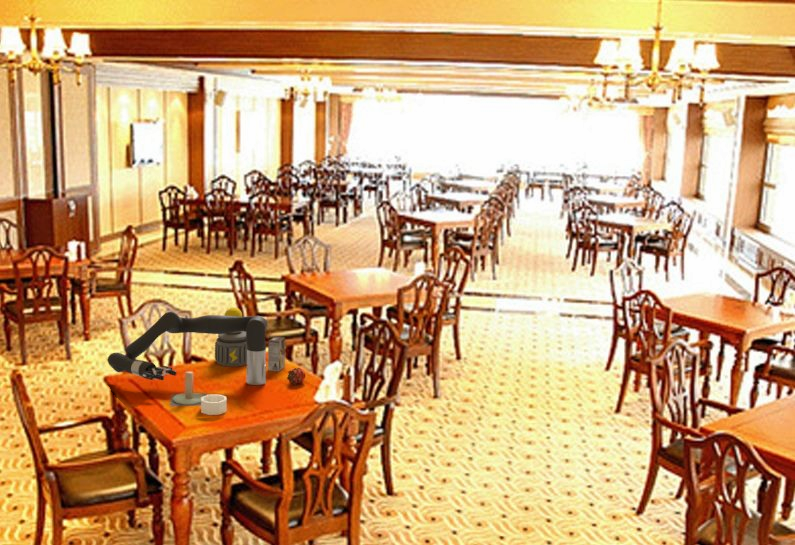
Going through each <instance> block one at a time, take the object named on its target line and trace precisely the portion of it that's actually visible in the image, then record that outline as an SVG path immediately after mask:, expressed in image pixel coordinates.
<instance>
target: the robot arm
mask: <svg viewBox="0 0 795 545" xmlns="http://www.w3.org/2000/svg"><path fill="white" fill-rule="evenodd" d="M267 328H268V321H267V319H266V318H264V317H263V316H260V315H250V316H242V317H234V316H225V315H222V314H221V315H219V314H218V315H217V314H208V315H207V314H206V315H202V316H198V317H182V316H179V315H178V314H177V312H174V311H168V312H165V313H164V314H163V315H162V316H160V317H159V319H158V320H157V321H155V323H153V325H152V326H151V327H150V328H149V329H148V330H146V331H145V332H144V333H143V334H141V335H140V336H139V337H137V339H135V340H134V341H133V342H131V343H130V344H129V345H127V346H126V347H125V349H124V350H125V353H126V354H123V353H120V352H113V353H110V354H109V355H108V357H107V363H108V365H109V366H110V367H111V368H112V369H113V370H114V371H115V372H116V373H124V372H126V373H128V374H132V375H135V376H137V377H141V378H143V379H147V380H149V381H150V380H151V381H153V380H160V381H163V380H164V379H165V378H164V377H165V376H166V375H170V376H177V370H174V369H173V367H171V366H167V365H161V366H160V367H159V366H157V365H155V363H154V362H149V361H145V360H141V359H137V358H138V357H139V356H140V355H142V354H143V353H145V352H146V351H148V349H149V348H150V347H151V346H152V345H153V343H155V341H156V340H157V339H158V338H159V337H160V336H161V335H163V334H164V333H165V332H167V333H169V334H186V333H195V334H209V335H218V334H225V333H231V332H236V331H244V332H246V344H247V364H246V378H245V379H246V380H245V381H246V382H245V383H246V384H247V385H251V386H260V385H266V377H267V374H266V373H267V364H266V362H267V361H266V359H267V358H266V357H267V356H266V354H267V344H266V330H267Z"/></svg>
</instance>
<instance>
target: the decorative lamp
mask: <svg viewBox="0 0 795 545" xmlns="http://www.w3.org/2000/svg"><path fill="white" fill-rule="evenodd" d="M224 316H234V317H243V312H242V311H241V309H240V308H238V307H235V306H233V307H232V306H231V307H229V308H227V310H226V311H225V313H224ZM214 360H215V362H216V364H217V365H219V366H223V367H231V368H232V367H233V368H234V367H237V368H238V367H243V366H247V344H246V332H245V331H236V332H231V333H225V334H217V338H216V341H215V343H214Z"/></svg>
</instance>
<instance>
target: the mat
mask: <svg viewBox="0 0 795 545" xmlns="http://www.w3.org/2000/svg"><path fill="white" fill-rule="evenodd" d="M178 394H179V393H176V394H175V393H174V394H171V398H170V407H186V406H187V407H189V406H190V407H191V406H193V407H195V406H201V403H198V404H193V405H182V404H177V403H175V402H174V401H173V397H174V396H176V395H178ZM201 394H202V395H204V396H206V395H208V393H201Z"/></svg>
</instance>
